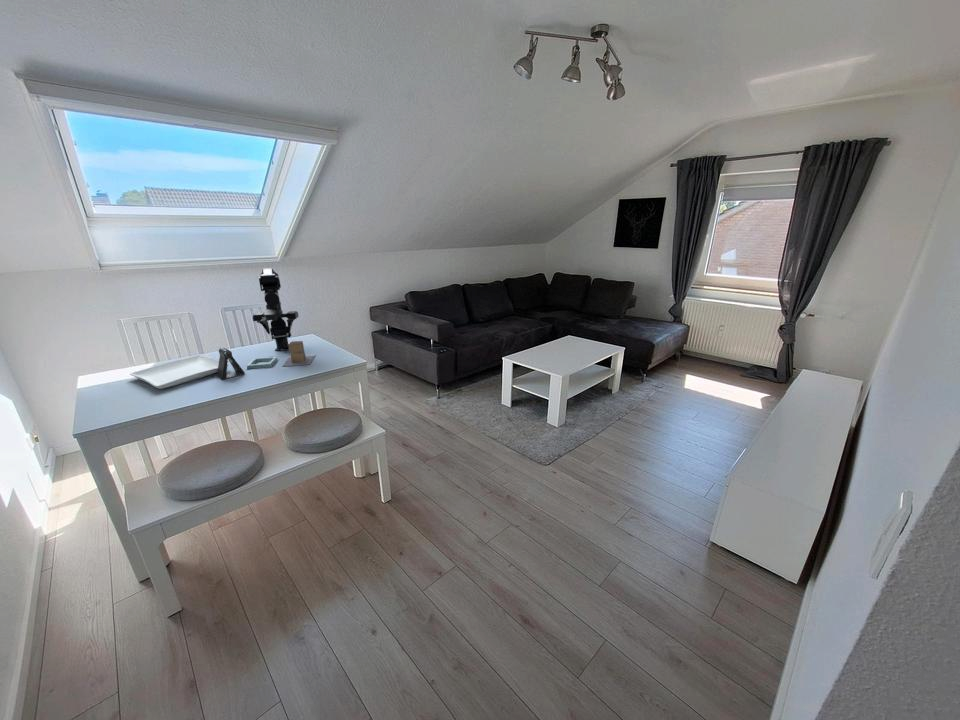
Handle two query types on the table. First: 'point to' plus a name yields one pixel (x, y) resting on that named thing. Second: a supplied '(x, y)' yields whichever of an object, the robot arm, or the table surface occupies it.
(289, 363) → the pad
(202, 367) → the square plate
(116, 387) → the table surface
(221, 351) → the phone stand
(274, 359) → the pocket frame
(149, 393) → the table surface
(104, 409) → the table surface
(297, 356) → the oak block
